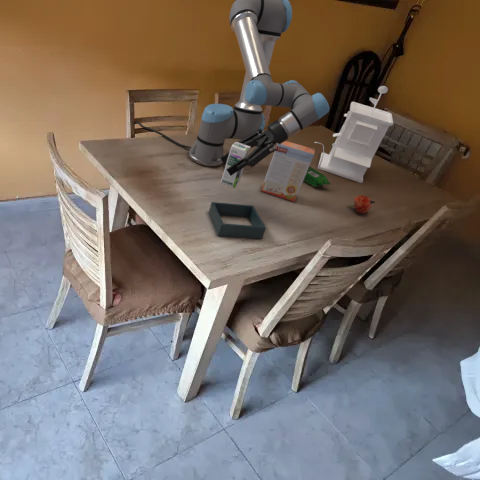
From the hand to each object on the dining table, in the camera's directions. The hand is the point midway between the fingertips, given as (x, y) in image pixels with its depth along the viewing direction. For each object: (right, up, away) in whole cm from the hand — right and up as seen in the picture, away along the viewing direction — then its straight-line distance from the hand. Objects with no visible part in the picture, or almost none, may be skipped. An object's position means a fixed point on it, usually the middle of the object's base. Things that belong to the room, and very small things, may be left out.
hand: (225, 166), depth 150 cm
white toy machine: (+62, +10, +58) cm, 86 cm away
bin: (+3, -21, -3) cm, 21 cm away
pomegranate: (+57, -14, +24) cm, 63 cm away
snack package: (+43, 0, +38) cm, 57 cm away
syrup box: (+2, -5, +4) cm, 7 cm away
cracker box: (+25, -7, +23) cm, 34 cm away
